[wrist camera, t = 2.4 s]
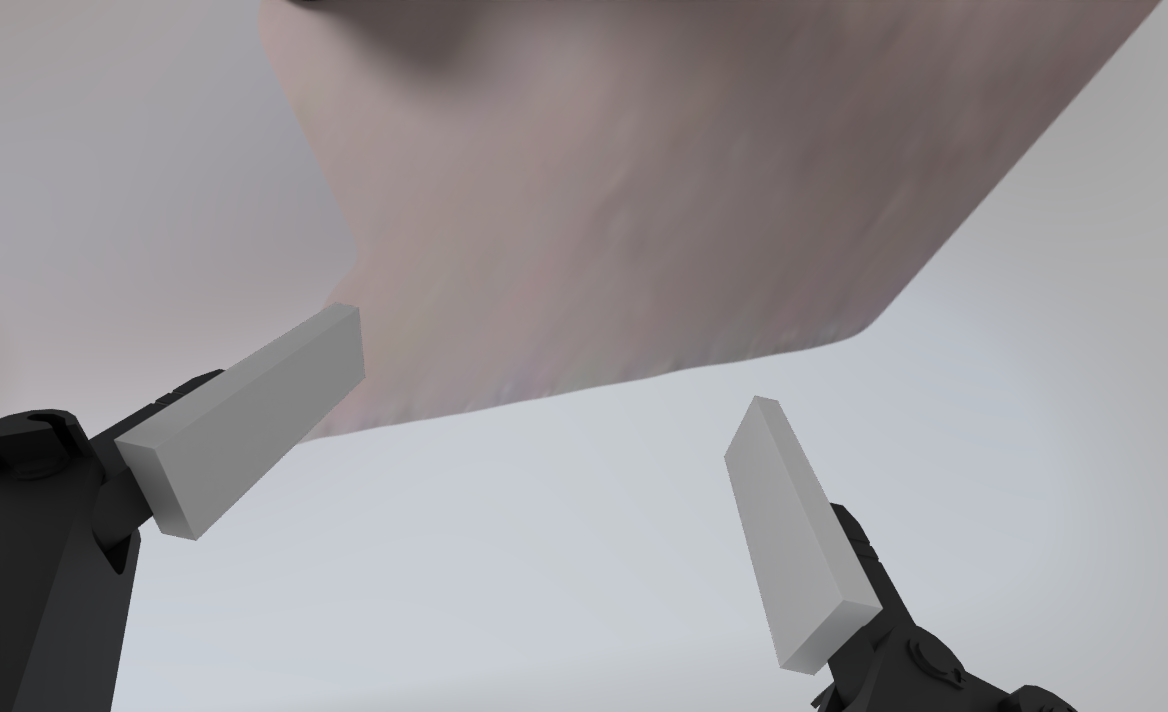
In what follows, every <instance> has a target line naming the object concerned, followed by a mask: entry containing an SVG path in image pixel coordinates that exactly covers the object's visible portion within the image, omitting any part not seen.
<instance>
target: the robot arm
mask: <svg viewBox="0 0 1168 712" xmlns="http://www.w3.org/2000/svg"><path fill="white" fill-rule="evenodd" d="M306 1H314V0H306ZM364 378H365V369H364V359H363V348H362V337H361V326H360V315H359V307H354V306H350V305H345V304H341V303H336V302H335V303H334V304H332V305H331V306H329V307H327V308H326V309H324V310H322V311H321V312H319V313H318V314H316V315H314V316H313V317H311V318H310V319H308V320H306V321H305V322H303V323H301V324H300V325H299V326H297V327H295V328H293V329H292V330H290V331H289V332H287V333H285V334H284V335H282V336H281V337H279V338H277V339H276V340H274V341H273V342H271V343H269V344H268V345H266V346H264V347H263V348H261V349H260V350H258V351H256V352H255V353H253V354H252V355H250V356H248V357H247V358H245V359H243V360H242V361H240V362H239V363H237V364H235V365H234V366H232V367H231V368H229V369H227V370H222V369H218V370H215V371H212V372H209V373H206V374H204V375H201V376H198V377H195V378H193V379H191V380H189V381H188V382H186V383H185V384H183V385H181V386H179V387H178V388H176V389H174V390H173V392H172V393H167V394H166V395H164V396H162V397H161V398H159V399H157V400H156V402H155V403H154V404H152V403H150V404H149V405H147V406H146V407H144V408H142V409H140V410H139V411H137V412H135V413H134V414H132V415H130V416H129V417H127V418H125V419H124V420H122V421H120V422H118V423H117V424H115V425H113V426H112V427H110V428H109V429H107V430H105V431H103V432H101V433H100V434H98V435H96V436H95V437H93V438H91V439H90V440H88V438H87V436H86V435H85V433H84V431H83V429H82V427H81V425H80V424H79V422H78V420H77V418H76V416H74V415H73V414H71V413H69V412H68V411H63V410H55V409H45V410H31V411H27V412H22V413H18V414H13V415H9V416H6V417H3V418H0V712H110V711H111V706H112V700H113V694H114V689H115V683H116V678H117V672H118V666H119V661H120V655H121V650H122V644H123V638H124V633H125V626H126V621H127V616H128V610H129V605H130V599H131V593H132V588H133V582H134V576H135V571H136V565H137V560H138V554H139V548H140V543H141V538H140V532H139V530H138V527H139V526H141V525H142V524H143V523H144V522H145V521H146V520H148V519H149V518H150V517H152V516H153V517H154V519H155V521H156V523H157V525H158V527H159V529H160V531H161V533H163V534H167V535H172V536H176V537H181V538H186V539H191V540H195V541H196V540H197V539H198V538H199V537H200V536H202V535H203V534H204V533H205V532H206V531H207V530H208V529H209V528H210V527H211V526H212V525H213V524H214V523H215V522H216V521H217V520H218V519H219V518H220V517H221V516H222V515H223V514H224V513H225V512H226V511H227V510H228V509H229V508H230V507H231V506H232V505H234V504H235V503H236V502H237V501H238V500H239V499H240V498H241V497H242V496H243V495H244V494H245V493H246V492H247V491H248V490H249V489H250V488H251V487H252V486H253V485H254V484H255V483H256V482H257V481H258V480H259V479H260V478H262V476H264V475H265V474H266V473H267V472H268V471H269V470H270V469H271V468H272V467H273V466H274V465H275V464H276V463H277V462H278V461H279V460H280V459H281V458H282V457H283V456H284V455H285V454H286V453H287V452H288V451H289V450H290V449H292V447H294V446H295V445H296V444H297V443H298V442H299V441H300V440H301V439H302V438H303V437H304V436H305V435H306V434H307V433H308V432H309V431H310V430H311V429H312V428H313V427H314V426H315V425H316V424H317V423H318V422H319V421H320V420H322V419H323V418H324V417H325V416H326V415H327V414H328V413H329V412H330V411H331V410H332V409H333V408H334V407H335V406H336V405H337V404H338V403H339V402H340V401H341V400H342V399H343V398H344V397H345V396H346V395H347V394H348V393H349V392H350V391H352V390H353V389H354V388H355V387H356V386H357V385H358V384H359V383H360V382H361V381H362V380H363V379H364ZM724 458H725V462H726V465H727V469H728V473H729V477H730V481H731V484H732V488H733V492H734V496H735V499H736V503H737V507H738V511H739V514H740V518H741V522H742V526H743V529H744V533H745V537H746V541H747V545H748V549H749V552H750V556H751V560H752V564H753V567H754V571H755V575H756V579H757V582H758V586H759V590H760V593H761V598H762V601H763V605H764V609H765V613H766V616H767V620H768V624H769V627H770V631H771V635H772V639H773V643H774V647H775V650H776V654H777V658H778V662H779V665H780V668H783V669H787V670H792V671H796V672H801V673H805V674H810V675H815V674H816V673H817V672H818V671H819V670H820V669H821V668H822V667H823V666H824V665H825V664H826V663H827V662H828V664H829V667H830V670H831V673H832V675H833V678H834V682H833V683H832V684H831V685H830V686H828V687H827V688H826V689H825V690H824V691H823V692H822V693H821V694H820V695H819V696H817V697H816V698H815V699H814V701H813V702H812V703H811V705H812V706H813V707H814V708H817V707H818V706H819V705H820V704H821V705H820V707H819V709H818V712H1077V711H1076V710H1075V709H1074V708H1073V707H1072V706H1071V705H1069V704H1068V703H1066V702H1065V701H1063V700H1062V699H1061V698H1059V697H1058V696H1056V695H1055V694H1053V693H1052V692H1049V691H1047V690H1045V689H1043V688H1040V687H1038V686H1031V685H1024V686H1023V687H1021V688H1019V689H1018V690H1016V691H1014V692H1013V693H1011V694H1009V693H1006V692H1005V691H1003V690H1001V689H999V688H997V687H995V686H993V685H991V684H989V683H987V682H985V681H983V680H981V679H979V678H977V677H976V676H974V675H972V674H970V673H968V672H966V671H965V669H964V667H963V665H962V664H961V662H960V661H959V660H958V659H957V657H956V656H955V655H954V654H953V652H952V651H951V650H950V649H949V648H948V647H947V646H946V645H945V644H944V643H942V642H941V641H940V640H939V639H938V638H937V637H936V636H934V635H932V634H931V633H929V632H928V631H926V630H924V629H923V628H921V627H919V626H916V624H915V623H914V621H913V620H912V618H911V616H910V614H909V612H908V611H907V608H906V607H905V605H904V603H903V601H902V599H901V598H900V596H899V594H898V592H897V590H896V589H895V587H894V585H893V583H892V582H891V580H890V578H889V576H888V574H887V572H886V571H885V569H884V567H883V565H882V563H881V562H879V561H878V559H879V558H878V556H877V554H876V553H875V551H874V549H873V547H872V546H870V542H869V540H868V538H867V536H866V535H865V533H864V531H863V529H862V528H861V526H860V524H859V523H858V521H857V520H856V519H855V518H854V517H853V516H852V515H851V514H850V513H849V512H848V511H847V510H846V508H845V507H844V506H843V505H838V504H834V503H829V501H828V499H827V497H826V495H825V493H824V491H823V489H822V487H821V485H820V483H819V481H818V479H817V477H816V476H815V474H814V471H813V470H812V467H811V466H810V464H809V462H808V460H807V458H806V456H805V454H804V452H803V450H802V448H801V446H800V444H799V442H798V440H797V438H796V436H795V434H794V432H793V430H792V428H791V426H790V424H789V422H788V420H787V418H786V416H785V414H784V412H783V410H782V408H781V406H780V404H779V402H778V401H777V400H772V399H768V398H763V397H759V396H754V398H753V400H752V402H751V404H750V406H749V408H748V410H747V412H746V414H745V416H744V418H743V420H742V422H741V424H740V426H739V428H738V430H737V432H736V434H735V436H734V438H733V440H732V442H731V444H730V446H729V448H728V450H727V452H726V454H725V456H724Z"/></svg>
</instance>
